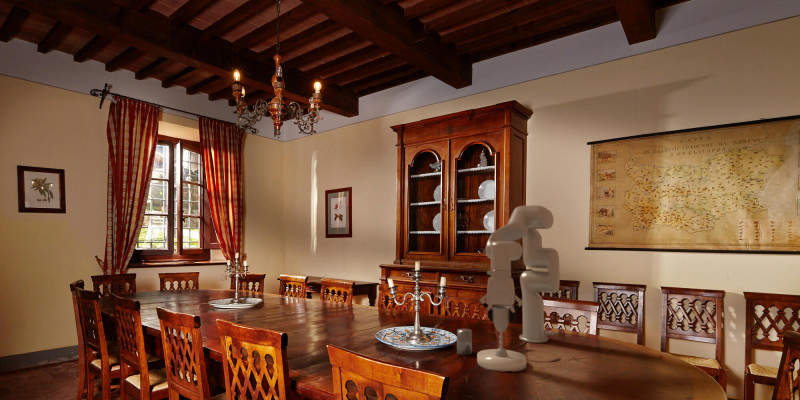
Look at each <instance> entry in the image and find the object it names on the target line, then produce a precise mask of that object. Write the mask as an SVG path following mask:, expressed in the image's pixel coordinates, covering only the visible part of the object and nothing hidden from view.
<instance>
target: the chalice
mask: <svg viewBox="0 0 800 400" xmlns="http://www.w3.org/2000/svg"><path fill="white" fill-rule="evenodd" d="M510 311H511V309H510V307H509V306H504V305H493V306H492V321H493V324H494V327H495V329H496V331H497V332H499V336H498V338H499V341H498V343H499V347H498V348H496V349H497V350H496V352H495V356H497V357H508V354H507V352H506V350H507V349H505V348H504V346H503V344H504V335H503V334H504V333H505V332H506V331H507V328H508V327H509V324H510ZM503 332H504V333H503Z"/></svg>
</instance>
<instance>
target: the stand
mask: <svg viewBox="0 0 800 400" xmlns="http://www.w3.org/2000/svg"><path fill="white" fill-rule="evenodd" d="M497 349H498V348H491V349H483V350H480V351H478V352H477V354H476V361H477V362H476V363H477V365H478V366H480V367H481V368H484V369H487V370H490V371H496V372H505V371H506V372H507V371H512V372H520V371H523V370H525V369H526V368H527V356H526V355H525V354H524V353H521V352H518V351H515V350H509V349H505V350H506V352H507V354H508V357H497V356H495V352H496V350H497Z"/></svg>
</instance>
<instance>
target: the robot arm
mask: <svg viewBox="0 0 800 400" xmlns="http://www.w3.org/2000/svg"><path fill="white" fill-rule="evenodd" d="M553 225H554V215H553V213H552V211H551V210H550V209H548V208H546V207H545V206H543V205H519V206H517V207H515V208H514V209H513V211H512V213H511V215H510V218H509V219H508V221H507V224H505V225H504V226H501V227H500V228H497V229H496V230H495V231H493V232H492V233H491V234H490V236H489V238H488V240H487V242H486V244H485V255H486V257H487V258H488V259H490V270H487V271H486V274H487V275H489V276H490V277H488V279H487V288H486V294H485V295H483V296H481V298H479V302H480V303H481V304H482V305H483V307H484V308H485V309H486V311H487V319H488V321H489V322H492V321H493V309H492V306H496V305H500V306H509V307H510V311H509V324H513V323H514V321H516V311H517V310H519V308H521V306H522V334H519V340H521V341H524V342H528V343H537V344H538V343H546V342H548V340H549V337H548V336H554V335H555V334H554V330H547V329H545V312H544V311H545V310H544V309H545V308H544V307H545V306H544V305H545V304H544V300H543V297H542V296H541V295H540V293H549V294H553V293H554V294H555V293H558V292H559V290H560V283H561V282H560V281H561V280H560V279H561V277H560V255H559V252H558V250H556V249H555V248H553V247H543V244H542V243H543V237H542V235H541V233H540V232H539V231H538V230H548V229H551V228H552V227H553ZM520 239H522V244H523V245H521V244H520V243H519V242H518V241H517V240H520ZM522 255H523V256H522ZM520 258H523V264H524V266H525V267H527V268H531V269H532V268H533V269H534V268H535V269H546V270H547V271H545V270H544V271H543V270H541V271H540V270H525V271H523V272H522V273H521V274H520V276H519V283H520V284H519V285H520V289H521V295H522V297H521V298H519V297H518V296H517V295H516V292H515V284H514V279H513V278H512V261H517V260H518V261H519V260H520ZM485 300H486V301H485ZM516 302H518V303H517V304H516V305H515V303H516Z"/></svg>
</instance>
